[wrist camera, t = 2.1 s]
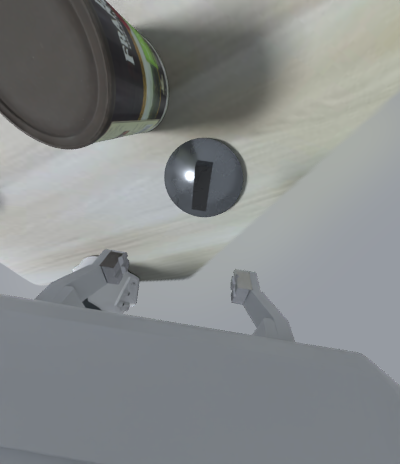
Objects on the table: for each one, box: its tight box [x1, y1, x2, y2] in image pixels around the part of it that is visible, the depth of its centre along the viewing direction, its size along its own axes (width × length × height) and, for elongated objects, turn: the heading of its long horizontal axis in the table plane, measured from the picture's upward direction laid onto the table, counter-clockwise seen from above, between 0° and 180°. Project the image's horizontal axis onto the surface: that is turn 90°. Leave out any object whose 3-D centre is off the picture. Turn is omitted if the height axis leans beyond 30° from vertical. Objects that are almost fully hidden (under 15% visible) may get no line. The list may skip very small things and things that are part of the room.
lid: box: [164, 138, 243, 217], centre depth 26 cm, size 13×13×4 cm
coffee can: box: [0, 0, 169, 149], centre depth 16 cm, size 10×10×14 cm
